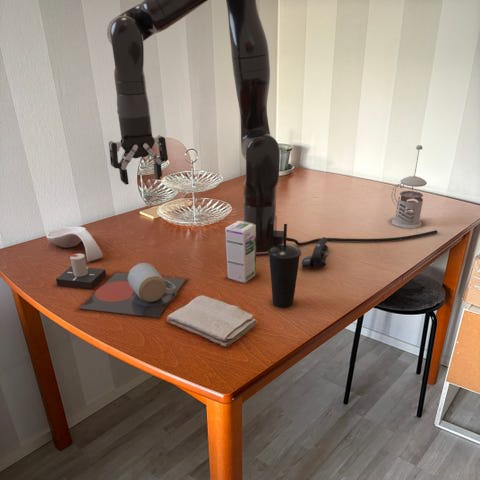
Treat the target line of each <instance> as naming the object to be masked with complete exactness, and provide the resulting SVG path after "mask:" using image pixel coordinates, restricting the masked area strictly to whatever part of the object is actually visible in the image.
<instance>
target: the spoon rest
mask: <svg viewBox="0 0 480 480" xmlns="http://www.w3.org/2000/svg"><path fill="white" fill-rule="evenodd" d="M45 237H46V239H47V240H48V241H49V242H50V243H52V244H53V245H56V246H58V247H60V248H65V249H67V248H72V247H77V246H78V245H79V244H80V243H81V242H82V244H83V246H84V249H85V250H84V251H85V257H86V262H88V263H90V262H93V261H96V260H99V259H102V258H103V253H102V250H101V248H100V247H99V245H98V243H97V242H96V240H95V238H94V237H93V236H92V234H91V233H90V232H89V231H88V230H87V228H86V227H84V226H78V225H74V226H73V225H72V226H70V225H69V226H63V227H61V228H57V229H53V230H51V231H49V232H47V234H46V235H45Z"/></svg>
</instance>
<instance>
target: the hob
mask: <svg viewBox="0 0 480 480" xmlns="http://www.w3.org/2000/svg"><path fill="white" fill-rule="evenodd" d="M128 274H129V273H126V272H117V271H116V272H115V273H114V274H113V275H112V276H111V277H110V278H109V279H108V280H107V281H106V282H105V283H104V284H102V285H100V286H99V287H98V288H97V289H96V290H95V292H94V294H93V295H92V296H90V297H89V298H88V300H86V302H84V303H83V304H82V305H81V306H80V307H79V310H81V311H91V312H99V313H107V314H108V313H109V314H117V315H125V316H132V317H133V316H134V317H143V318H151V319H159V318H160V317H161V315H162V314H163V312H164V311H165V310H166V308H168V305H169V304H170V303H171V302H172V301H173V300H174V299H175V298H176V296H177V293H178V292H179V291H180V289H181V288H182V286H183V285H184V284H185V282H187V281H186V280H187V279H186V278H178V277H169V276H168V277H167V276H161V277H162V278H163V279H164V280H167V281H169V282H171V283H172V284H174V285H175V287H176V289H175V291H174V293H173V294H164V295H163V296H162V297H161V298H160V299H159V300H157V301H155V302H146V301H144V300H142V299H141V298H140V297H139V296H138V295H137V294H136V293H135V291H134V290H133V289H132V288H131V287H130V285H129V283H128ZM166 288H168V287H166Z"/></svg>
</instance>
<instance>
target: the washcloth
mask: <svg viewBox="0 0 480 480" xmlns="http://www.w3.org/2000/svg"><path fill="white" fill-rule="evenodd" d="M166 322H167V323H169V324H171V325H173V326H175V327H178V328H180V329H182V330H185V331H188V332H190V333H193V334H196V335H198V336H200V337H203V338H204V339H207V340H209V341H211V342H212V343H215V344H219V345H220V346H221V347H225V348H228V346H230V345H232V343H234V342H235V341H237V340H239V339H240V338H241V337H243V336H244V335H245V334H246V333H248V332H249V331H250V330H252V329H253V328H254V327H255V326H256V325H257V324H258V322H257V320H256V319H255V318H254V315H253V314H252V313H249V312H248V311H244V309H241V308H240V307H239V306H238V305H232V304H229V303H227V302H224V301H222V300H219V299H215V298H211V297H209V296H206V295H197V296H196V297H195V298H193V299H191V300H190V302H189V303H187V304H186V305H184V306H181V307H180V308H178V309H176V310H175V311H173V312H172V313H170V314H168V315H167V316H166Z"/></svg>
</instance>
